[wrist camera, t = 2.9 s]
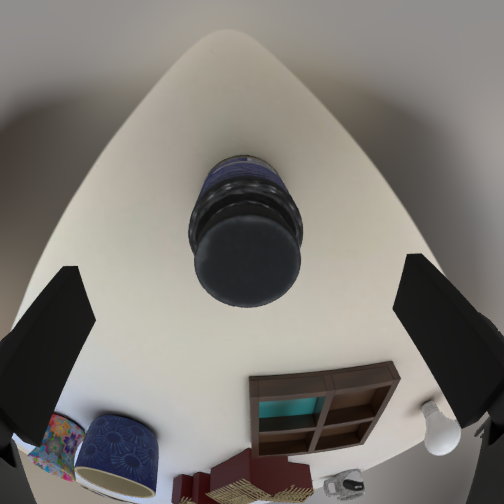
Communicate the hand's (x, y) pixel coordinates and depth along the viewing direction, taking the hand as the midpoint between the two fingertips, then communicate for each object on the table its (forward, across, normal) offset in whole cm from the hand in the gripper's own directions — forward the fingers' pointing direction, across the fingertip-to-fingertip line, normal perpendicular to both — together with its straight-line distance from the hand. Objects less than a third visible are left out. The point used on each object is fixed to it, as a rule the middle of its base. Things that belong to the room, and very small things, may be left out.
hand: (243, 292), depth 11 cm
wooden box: (+13, +9, -30) cm, 34 cm away
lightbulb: (+13, +30, -35) cm, 48 cm away
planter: (+13, -20, -36) cm, 43 cm away
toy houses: (+13, -7, -64) cm, 66 cm away
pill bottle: (+13, 0, 0) cm, 13 cm away
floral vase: (+14, -35, -40) cm, 55 cm away
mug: (+13, +21, -64) cm, 69 cm away
